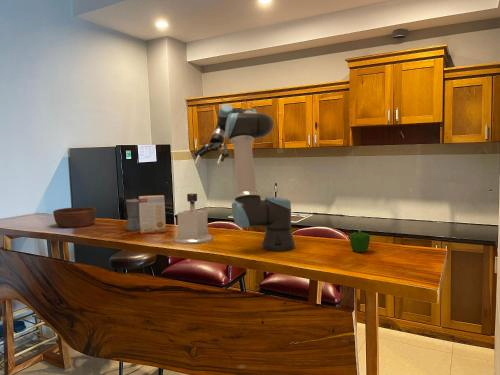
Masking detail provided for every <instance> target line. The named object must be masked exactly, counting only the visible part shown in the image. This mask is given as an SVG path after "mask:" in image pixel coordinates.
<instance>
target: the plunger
mask: <svg viewBox="0 0 500 375" xmlns="http://www.w3.org/2000/svg"><path fill="white" fill-rule="evenodd" d="M186 197H187V198H186V200H187V201H186V202H189V210H190V212H195V210H196V207H195V206H196V203H195V202H197V201H198V193H187V194H186Z"/></svg>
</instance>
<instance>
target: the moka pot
mask: <svg viewBox="0 0 500 375" xmlns="http://www.w3.org/2000/svg"><path fill="white" fill-rule="evenodd" d="M124 203H125V205H126V209H125V205H124ZM120 205H121V209H122V212H123V215H125V216H127V220H126V227H125V229H126V231H129V232H132V231H135V232H136V231H140V214H139V198H138V199H137V198H136V195H135V196H134V195H133V196H132V199H125V198H123V199H122V200H121V202H120Z"/></svg>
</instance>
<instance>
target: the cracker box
mask: <svg viewBox="0 0 500 375" xmlns="http://www.w3.org/2000/svg"><path fill="white" fill-rule="evenodd" d="M138 200H139V214H140V230H139V232H140V234H141V235H145V234H154V233H155V234H159V233H160V234H161V233H162V234H163V233H166V231H167V230H166V204H165V203H166V202H165V195H163V194H161V195H160V194H158V195H139V196H138Z"/></svg>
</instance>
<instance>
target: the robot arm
mask: <svg viewBox="0 0 500 375" xmlns="http://www.w3.org/2000/svg"><path fill="white" fill-rule="evenodd" d="M218 110H219V111H218V115H217V121H216V125H215V128H214V131H213V132H212V134H211V135H212V136H211V137H210V140H209V143H206V142H204V143H203V145H202V146H200V147H199V148H198V149H197V150H196V151H195V152H194V156H195V160H194V161H195V162H194V165H195V167H196V168H198V166H199V165H200V162H201V160H202V157H203V156H205V155H206V154H208V153H211V152H217V151H218V152H219V154H220V155H219V158H218V160H217V163H216V164H217V166H218V167H221V165H222V162H224V161H225V158H227V157H229V152H228V148H227V147H228V145H227V142H224V141H225V139H226V138H227V139H229V142H230V144H231V145H233V146H232V147H233V155H234V167H235V174H236V175H235V176H236V177H235V179H236V188H237V189H236V190H237V195H236V196H235V197H234V201H233V202H232V203H231V213H232V218H233V221H234V223H235V225H236V226H237V227H239V228H250V227H251V228H252V227H265V232H264V236H263V240H262V242H261V248H262V249H263V250H266V251H270V252H271V251H272V252H288V251H292V250H294V249H295V248H296V242H295V240H294V237H293V233H292V205H291V204H292V203H291V200H290V199H288V198H283V197H278V196H277V197H276V196H265V197H264V200H262V199H261V197H262V196H261V195H260V194H259V193H258V192H257V183H256V173H255V165H254V154H253V153H254V152H253V146H252V145H253V144H252V143H253V142H255V139H259V138H260V139H261V138H264V137H267V135H269V134H270V133H271V132H272V131H273V129H274V120H273V118H272V117H271V116H270V115H268V114H266V113H259V112H257V110H256V109H254V108H233V106H232V105H231V104H227V103H225V104H222V105H220V107H219V109H218ZM221 148H223V149H224V151H223V149H221Z"/></svg>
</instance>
